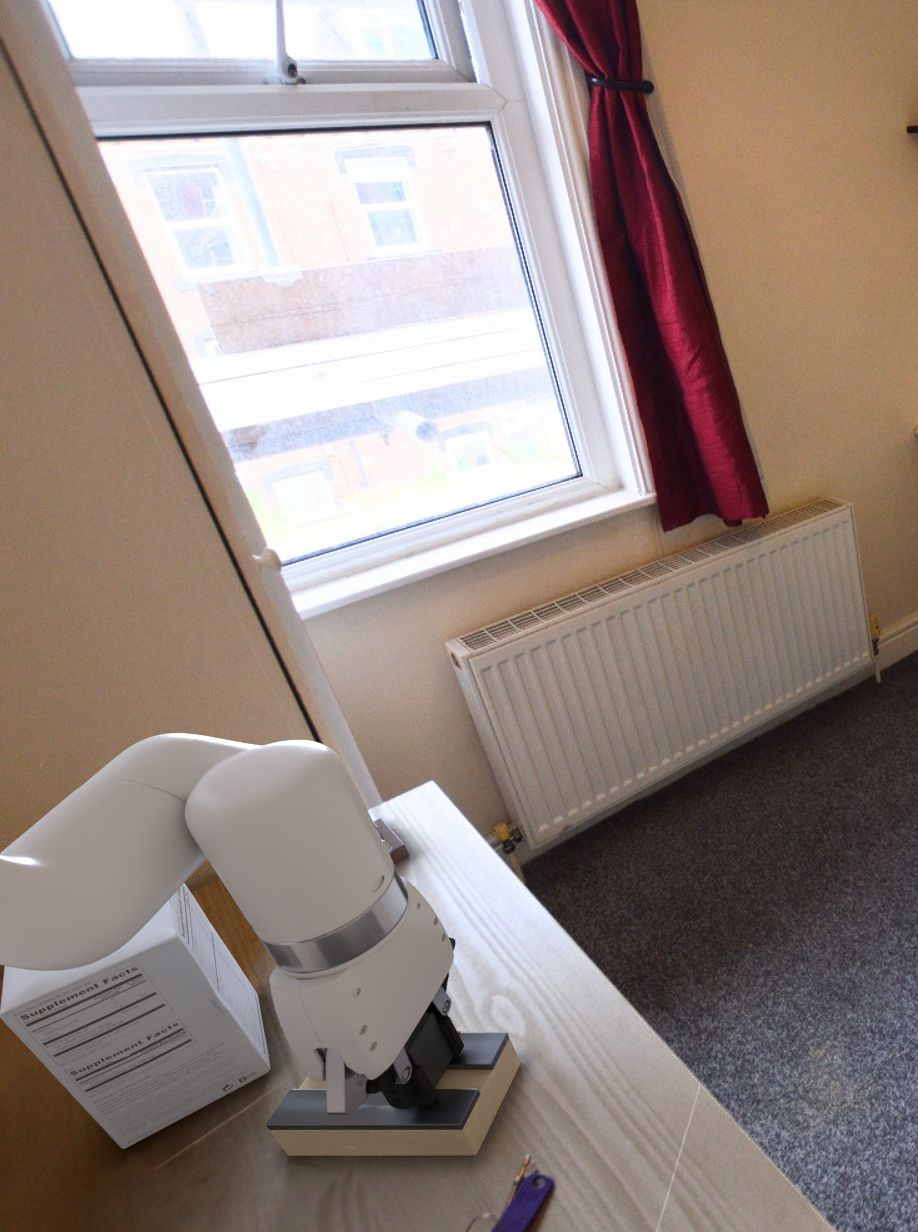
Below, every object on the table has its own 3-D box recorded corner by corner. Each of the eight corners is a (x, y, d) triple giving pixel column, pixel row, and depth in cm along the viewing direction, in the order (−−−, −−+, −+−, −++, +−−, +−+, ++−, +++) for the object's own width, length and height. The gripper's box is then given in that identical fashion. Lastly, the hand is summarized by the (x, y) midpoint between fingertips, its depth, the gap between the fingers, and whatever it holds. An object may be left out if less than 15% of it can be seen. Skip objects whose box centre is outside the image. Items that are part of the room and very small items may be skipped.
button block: (320, 906, 83) (306, 881, 82) (298, 876, 87) (284, 851, 85) (410, 856, 89) (398, 831, 87) (386, 828, 92) (374, 804, 90)
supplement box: (118, 1060, 70) (3, 923, 62) (259, 991, 76) (171, 856, 67) (120, 1155, 64) (-8, 1016, 56) (273, 1072, 69) (178, 935, 61)
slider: (403, 1100, 64) (375, 1052, 61) (426, 1060, 67) (400, 1012, 64) (435, 1100, 64) (409, 1051, 61) (457, 1060, 67) (432, 1012, 64)
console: (288, 1156, 64) (264, 1124, 62) (349, 1063, 70) (329, 1031, 68) (476, 1156, 64) (459, 1124, 62) (521, 1063, 70) (507, 1031, 68)
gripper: (359, 819, 63) (440, 978, 72) (175, 1034, 49) (304, 1198, 58) (462, 819, 63) (529, 977, 72) (307, 1033, 49) (415, 1197, 58)
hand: (428, 1074), depth 65 cm, fingers closed on slider, 3 cm apart
